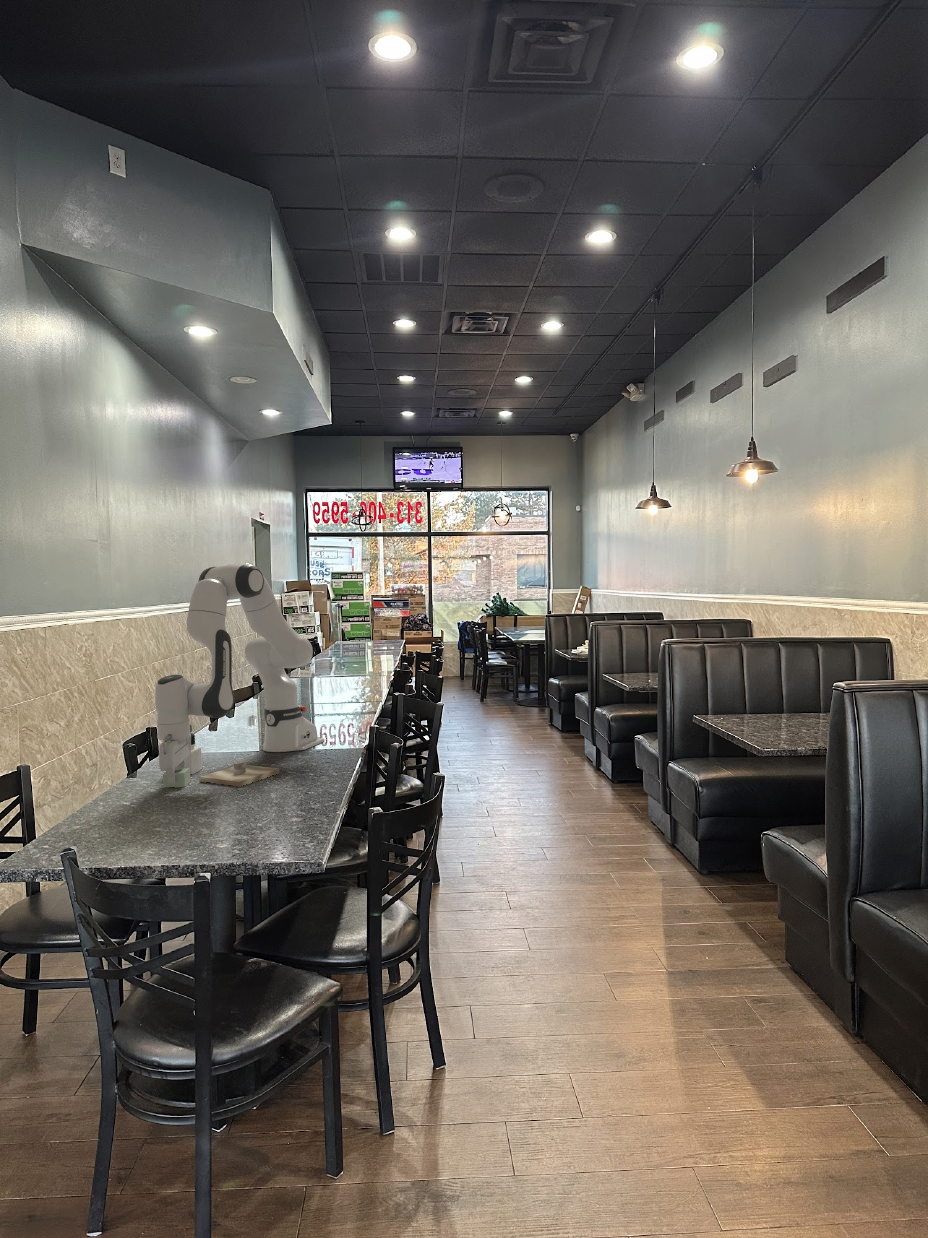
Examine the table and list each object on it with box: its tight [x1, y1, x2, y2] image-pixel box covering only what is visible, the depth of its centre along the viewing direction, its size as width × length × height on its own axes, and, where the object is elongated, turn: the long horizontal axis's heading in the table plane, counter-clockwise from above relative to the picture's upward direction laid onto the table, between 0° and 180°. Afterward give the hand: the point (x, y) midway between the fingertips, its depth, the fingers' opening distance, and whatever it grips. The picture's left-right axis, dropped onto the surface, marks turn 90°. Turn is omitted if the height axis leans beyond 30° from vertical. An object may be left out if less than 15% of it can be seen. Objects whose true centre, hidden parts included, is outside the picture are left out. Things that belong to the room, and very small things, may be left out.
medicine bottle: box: [175, 732, 203, 775], centre depth 245 cm, size 7×7×12 cm
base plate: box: [199, 761, 280, 788], centre depth 235 cm, size 16×16×4 cm
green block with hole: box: [162, 768, 191, 789], centre depth 230 cm, size 6×6×4 cm
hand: (176, 778), depth 230 cm, fingers open, 8 cm apart
